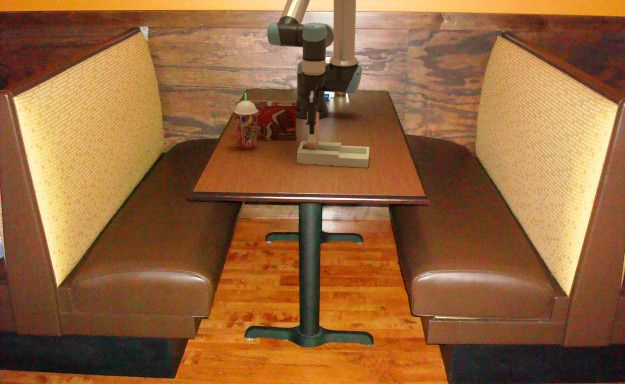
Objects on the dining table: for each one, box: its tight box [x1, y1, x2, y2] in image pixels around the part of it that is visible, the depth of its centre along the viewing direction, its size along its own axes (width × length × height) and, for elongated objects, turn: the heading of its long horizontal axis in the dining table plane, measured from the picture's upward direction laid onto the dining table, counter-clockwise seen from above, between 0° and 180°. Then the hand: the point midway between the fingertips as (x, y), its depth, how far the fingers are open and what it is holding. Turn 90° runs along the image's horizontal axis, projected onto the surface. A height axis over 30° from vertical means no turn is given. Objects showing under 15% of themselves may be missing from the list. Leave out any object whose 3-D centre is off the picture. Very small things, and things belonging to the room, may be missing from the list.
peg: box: [304, 111, 321, 150], centre depth 199 cm, size 6×6×15 cm
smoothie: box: [233, 92, 258, 151], centre depth 207 cm, size 8×8×20 cm
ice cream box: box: [250, 100, 297, 141], centre depth 219 cm, size 20×6×13 cm, turn 92°
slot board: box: [296, 140, 370, 169], centre depth 201 cm, size 12×24×4 cm, turn 84°
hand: (312, 140), depth 200 cm, fingers closed on peg, 4 cm apart
